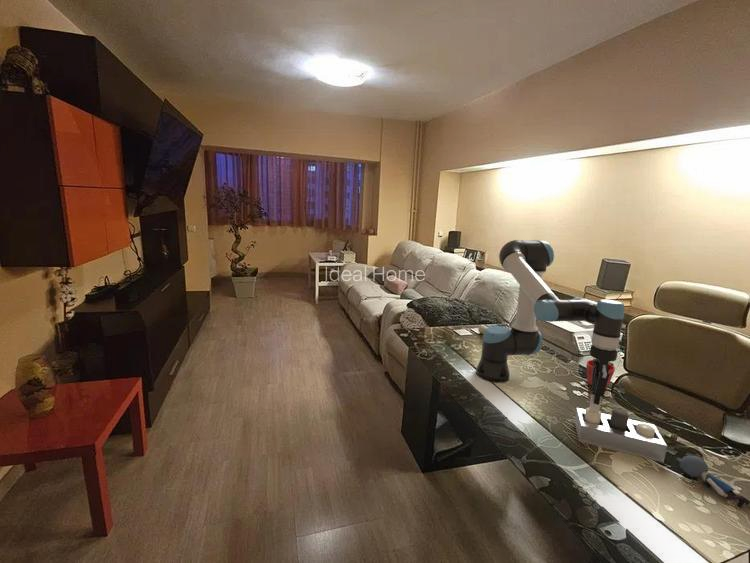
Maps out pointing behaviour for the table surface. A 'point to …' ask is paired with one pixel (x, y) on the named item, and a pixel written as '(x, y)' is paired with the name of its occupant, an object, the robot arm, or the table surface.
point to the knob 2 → (645, 430)
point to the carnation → (482, 329)
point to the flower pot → (590, 371)
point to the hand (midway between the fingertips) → (594, 410)
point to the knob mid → (619, 419)
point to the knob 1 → (592, 417)
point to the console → (620, 437)
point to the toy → (709, 478)
